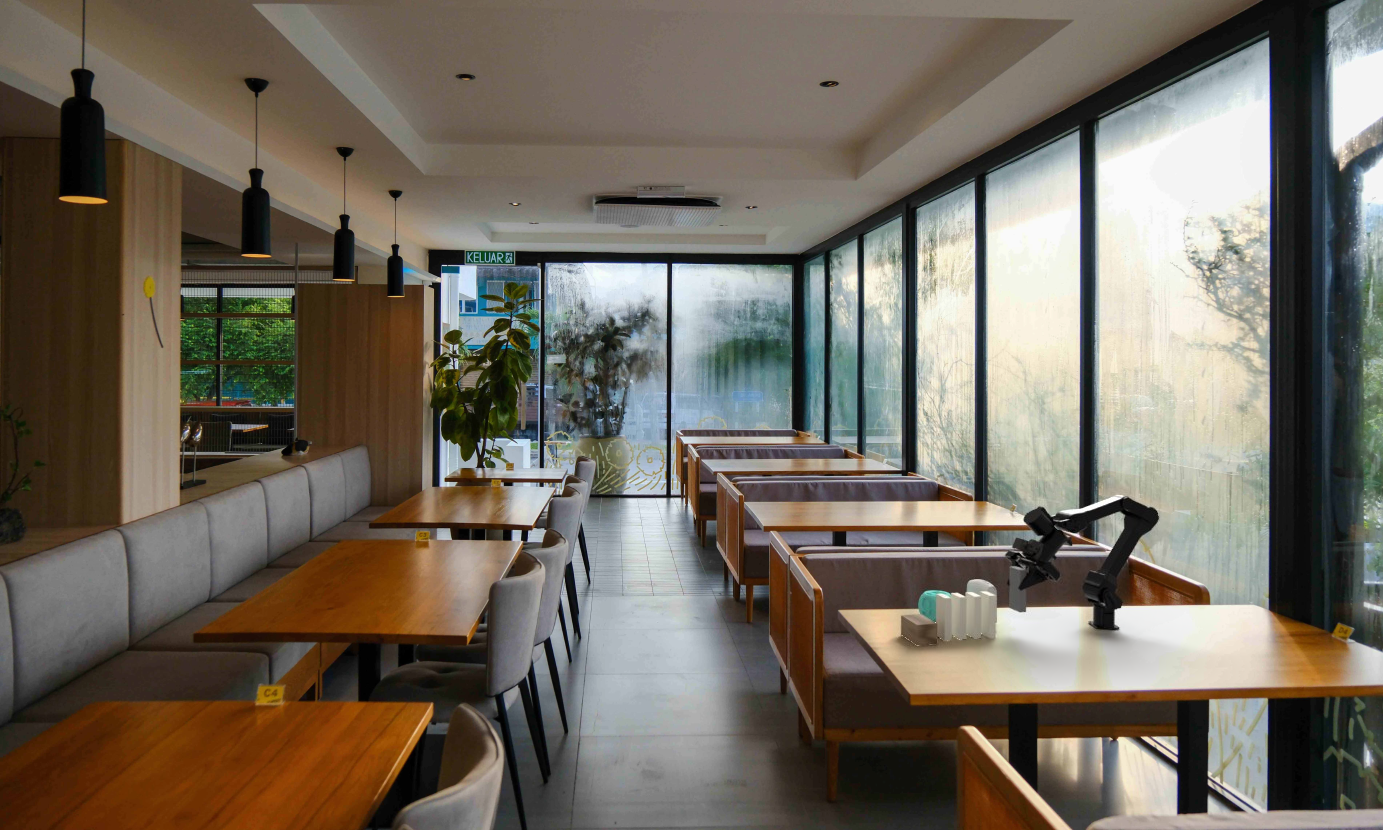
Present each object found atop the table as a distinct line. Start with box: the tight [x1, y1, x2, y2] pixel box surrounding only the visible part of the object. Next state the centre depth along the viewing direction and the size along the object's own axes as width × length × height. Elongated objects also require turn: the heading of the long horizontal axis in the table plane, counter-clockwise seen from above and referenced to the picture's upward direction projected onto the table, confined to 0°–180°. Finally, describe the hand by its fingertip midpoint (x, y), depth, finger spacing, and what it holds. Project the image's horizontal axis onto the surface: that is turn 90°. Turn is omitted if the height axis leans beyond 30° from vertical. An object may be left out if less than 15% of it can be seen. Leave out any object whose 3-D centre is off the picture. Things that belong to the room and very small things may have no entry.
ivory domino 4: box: [980, 591, 997, 639], centre depth 237 cm, size 2×5×12 cm, turn 11°
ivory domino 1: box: [936, 594, 952, 642], centre depth 235 cm, size 2×5×12 cm, turn 11°
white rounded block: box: [966, 578, 998, 624], centre depth 252 cm, size 10×4×12 cm, turn 20°
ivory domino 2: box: [950, 592, 967, 641], centre depth 235 cm, size 2×5×12 cm, turn 11°
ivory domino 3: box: [965, 591, 982, 640], centre depth 236 cm, size 2×5×12 cm, turn 11°
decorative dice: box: [917, 590, 951, 622], centre depth 254 cm, size 8×8×8 cm
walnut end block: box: [900, 613, 938, 646], centre depth 233 cm, size 6×10×6 cm, turn 11°
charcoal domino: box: [1008, 565, 1027, 613], centre depth 239 cm, size 2×5×12 cm, turn 13°
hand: (1013, 587), depth 238 cm, fingers closed on charcoal domino, 5 cm apart
